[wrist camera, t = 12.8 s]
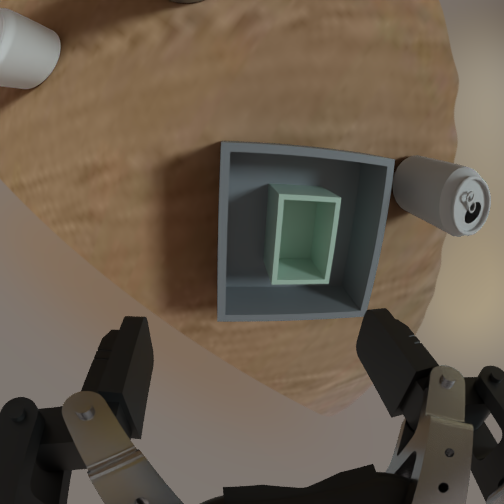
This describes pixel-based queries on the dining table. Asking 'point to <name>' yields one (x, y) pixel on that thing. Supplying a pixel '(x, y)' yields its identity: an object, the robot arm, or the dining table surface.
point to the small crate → (300, 233)
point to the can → (442, 194)
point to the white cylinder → (25, 51)
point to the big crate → (254, 225)
